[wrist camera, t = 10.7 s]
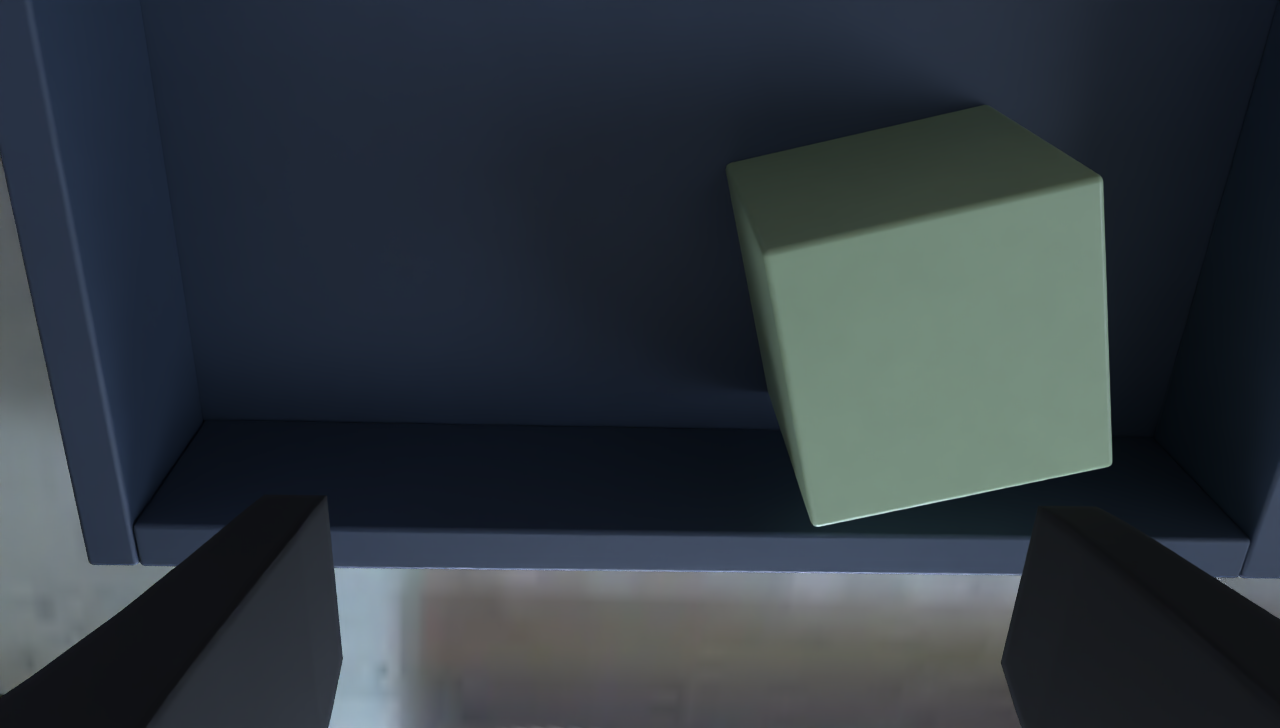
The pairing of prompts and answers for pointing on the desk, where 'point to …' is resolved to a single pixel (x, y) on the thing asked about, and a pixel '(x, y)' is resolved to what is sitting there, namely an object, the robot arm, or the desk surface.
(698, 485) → the tote
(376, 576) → the desk surface
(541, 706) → the desk surface
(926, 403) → the sage block
